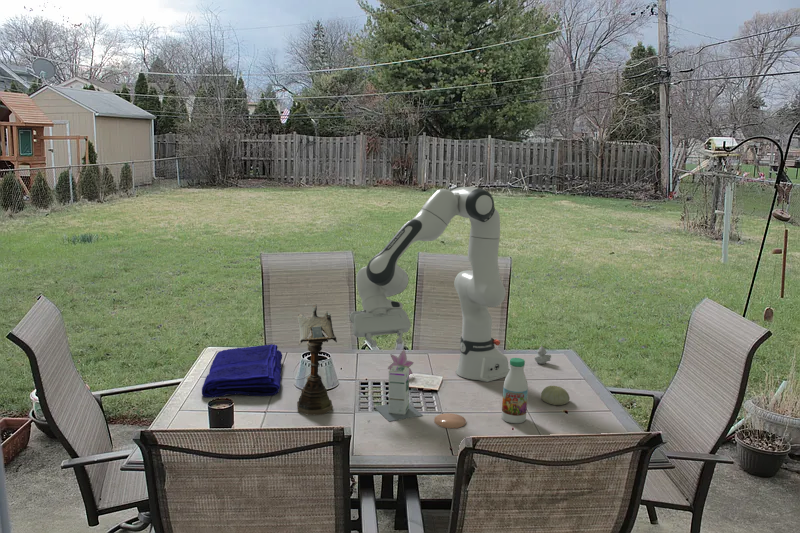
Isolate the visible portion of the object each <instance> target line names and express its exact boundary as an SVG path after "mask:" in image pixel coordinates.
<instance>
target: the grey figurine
mask: <svg viewBox="0 0 800 533" xmlns="http://www.w3.org/2000/svg"><path fill="white" fill-rule="evenodd" d="M551 358H552V355H551V354H549V353H547V350H546V348H544V347H543V345H542V344H541V346H540V347H539V348H538V350H536V355H535V356H534V361H535V362H536V363H537V364H539V365H544V364H546V363H547V362H550V361H551Z"/></svg>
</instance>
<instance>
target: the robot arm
mask: <svg viewBox="0 0 800 533" xmlns="http://www.w3.org/2000/svg"><path fill="white" fill-rule="evenodd" d="M455 216H459V217H462V218H467V219H468V220H469V221H470V222H469V223H470V230H469V239H468V248H467V258H468V261H469V262H470V265H471V270H462V271H460V272H459V273H457V275H456V276H455V279H454V281H453V287H454V289H455V291H456V293H457V295H458V298H459V299H458V300H459V303H460V309H461V315H462V318H461V319H462V323H461V324H462V326H461V327H462V328H461V329H462V330H461V337H460V343H459V344H460V345H459V346H460V347H459V350H460V354H459V358H458V364H457V367H456V371H455V372H456V375H458V376H460V377H461V378H465V379H468V380H473V381H474V380H476V381H482V382H488V383H489V382H491V381H496V380H499V379H502V378H506V377H507V375H508V373H509V371H510V364H509V360H508V357H507V356H506V354H504V353H502V351H501V350H499V349H498V348H497V347H495V345H496V346H500V345H501V341H500V340H499V339H495V338H492V332H493V330H492V329H493V328H492V327H493V318H492V315H491V313H490V311H489V308H495V307H498V306H500V305H501V304H502V303H503V301H505V298H506V293H507V292H506V287H505V285H504V284H503V282H502V279H501V275H500V269H499V248H500V246H499V245H500V236H501V217H500V216H501V215H500V213H499V211H498V210H497V209H496V207H495V201H494V197H493V196H492V194H491V193H490V192H489V191H487V190H486V189H483V188H478V187H475V186H462V185H461V186H459V185H458V186H455V187H453V188H451V189H448V188H439V189H437V190H435V192H434V193H433V194H432V195H431V196H430V197H429V198H428V199H427V200H426V201H425V203H424V204H423V206H422V207H421V208H420V210H419V211H418V213H416V215H415V216H414V217H413V218H412V219H410V220H408V221H406V223H404V224H403V225H402V226H401V228H400V229H399V230H398V231H397V232H396V233H395V235H394V236H392V238H391V239H390V241H388V242H387V244H386V245H385V246H384V247H383V249H382V250H381V251H380V252H378V253H377V254H375V255H374V256H373V257H372V258H371V259H370V260H369V261H368V262H367V265H366V266H363V267H361V268H360V269H359V270H358V271H357V273H356V278H355V281H356V282H355V283H356V288H357V292H358V295H359V297H360V299H361V306H362V310H354V311H352V312H351V313H350V314H349V321H350V322H351V324H352V332H353V335H354V336H355V337H356V338H365V340H366V341H367V342H368V343H369V344H370V347H371V348H376V347H377V346H378V345H377V340H375V339H373V338H372V337H373V336H374V337H375V336H383V335H393V334H395V335H397V336H398V337H397V339H396V340H395V341H396V345H402V344H403V342H404V340H403V334H405V333H408V332H409V331H410V329H411V326H412V324H411V320H410V318H409V316H408V313H407V312H406V310H405V309H403V307H404V306H403V303H402V302H401V301H395V300H391V299H389V297H393V296H397V295H399V294H401V293H403V292H404V291H405V290H406V289H407V287H408V285H409V279H410V278H409V275H408V273H407V272H406V271H405V270H404V269H403V268H402V267H401V266H399V265H398V261H399V259H400V258H401V257H402V256H403V255H404V253H405V252H406V251H407V250H408V248H409V247H410V246H411V245H412V244H413V243H415V242H418V241H422V242H433V241H436V240H437V239H439V238H440V237H441V236H442V234H443V233H444V232H445V230H446V229H447V227H448V226H449V225H450V223H451V221H452V219H453V218H454V217H455Z"/></svg>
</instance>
